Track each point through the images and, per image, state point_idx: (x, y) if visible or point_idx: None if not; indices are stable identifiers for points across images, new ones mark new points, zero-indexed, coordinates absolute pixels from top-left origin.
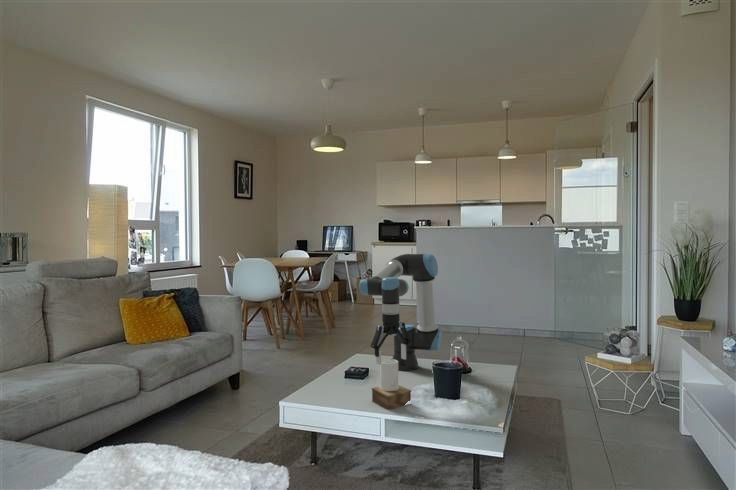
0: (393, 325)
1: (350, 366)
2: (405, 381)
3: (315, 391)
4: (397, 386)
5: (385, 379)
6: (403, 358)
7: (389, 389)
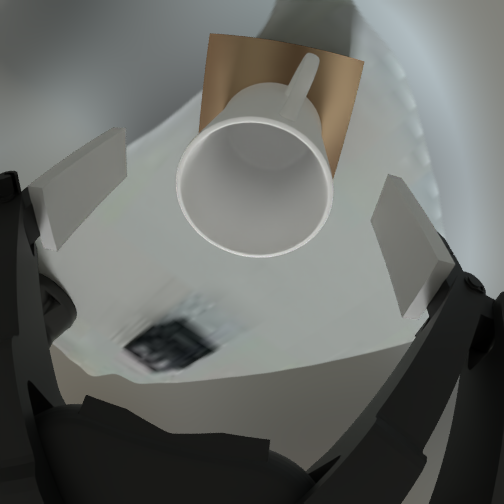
0: None
1: (155, 373)
2: (87, 229)
3: (354, 336)
4: (253, 88)
5: (320, 132)
6: (123, 148)
7: (306, 100)
